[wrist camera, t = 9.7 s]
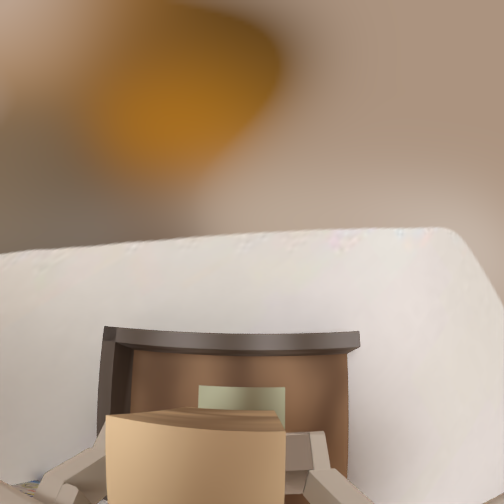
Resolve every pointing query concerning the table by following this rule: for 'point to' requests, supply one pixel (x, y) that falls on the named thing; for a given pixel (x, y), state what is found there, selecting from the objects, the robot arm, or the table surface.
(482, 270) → the table surface
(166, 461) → the maple block
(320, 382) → the corner board
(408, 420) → the table surface
